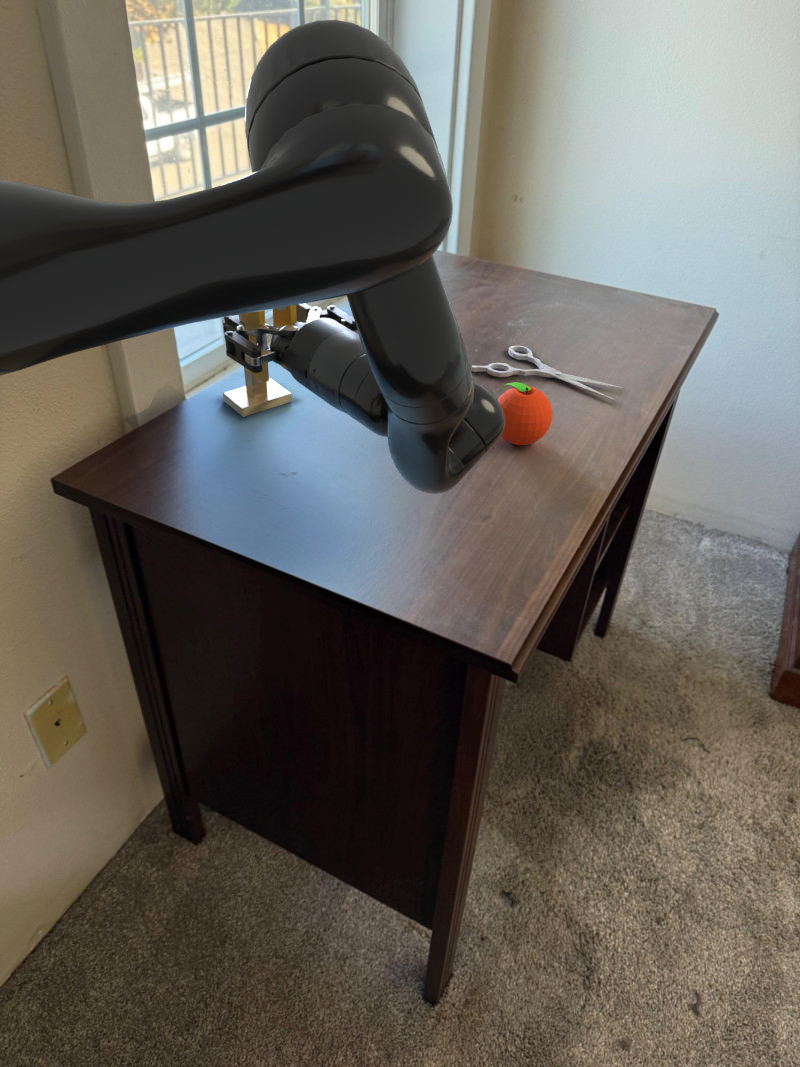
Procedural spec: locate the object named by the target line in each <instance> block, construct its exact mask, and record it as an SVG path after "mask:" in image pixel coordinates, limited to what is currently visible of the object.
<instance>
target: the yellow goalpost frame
mask: <svg viewBox="0 0 800 1067" xmlns="http://www.w3.org/2000/svg"><path fill="white" fill-rule="evenodd" d="M242 322H243V323H244V324H246V326H252V327H258V326H259V325H261V324H266V310H263V311H257V312H252V313H246V314H242ZM294 323H298V322H297V316H296V305H292V306H287V307H286V309H285V310H283V311H278V310H276V309H272V325H275V326H285V325H292V324H294ZM249 341H250V342H252V343H256V337H255V336H252V335H249ZM278 365H279V366H280V367H281V368H283V369H284V370H285V371H287V372H289V370H288V369H287V367H286V366H284V365H281V364H278ZM262 368H263V371H262V372H260V373H253V372H251V371H250V370H248V369H247V368H246V370H247V371H248V372H250V373H251V374H252V375H254V376H255V377H256V378H258V379H259V380H260V381H262V382H263V383H265V382H268V381H269V379H270V374H269V372H270V371H269V362H268V363H265V364H262Z"/></svg>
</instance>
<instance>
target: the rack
mask: <svg viewBox="0 0 800 1067" xmlns="http://www.w3.org/2000/svg"><path fill="white" fill-rule="evenodd" d="M286 307H287V306H286ZM286 307H281V308H275V309H276V310H278V311H283V310H285V309H286ZM238 320H240V321H241V322H242V314H240V315H238ZM243 371H244V383H245V385H243V386H240V387H237V388H233V389H231V390H227V391H224V392H222V397H223V402H224V403H226V404H227V405H228V406H229V407H230V408H232V409H233V410H234V411H235V412H237V413H238V414H239V415H240V416H241V417H242V418H245V417H248V416H251V415H255V414H257V413H261V412H263V411H264V412H265V411H266V410H267V411H268V410H269V409H272V408H276V407H279V406H282V405H285V404H289V403H291V402H292V399H293V398H292V392H290V391H289V390H287V389H286V388H285V387H283V386H282V385H280V384H279V383H278V382H277V381H275V380H274V379H273V378H269V381H268V382H265V383H263V382H262V381H260V380H259V379H258V378H256V377H255V376H254V375H252V374H251V373H250V372H248V371H247V370H246V368H245V367H244V366H243Z"/></svg>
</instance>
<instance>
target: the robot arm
mask: <svg viewBox="0 0 800 1067" xmlns="http://www.w3.org/2000/svg"><path fill="white" fill-rule="evenodd" d="M420 93H421V92H420V91H419V88H418V86H417V83H416V81H415V79H414V78H413V76H412V74H411V72H410V71H409V69H408V67H407V66H406V65H405V63H404V61H403V60H402V58H401V56H400V55H399V54H398V53H397V52H396V51H395V50H394V49H393V48H392V47H391V45H389V43H388V42H387V41H385V39H383V38H381V37H380V36H378V35H377V34H376V33H374V32H373V31H372V30H370V29H368V28H366V27H363V26H361V25H359V24H356V23H355V22H351V21H345V20H340V19H320V20H314V21H310V22H307V23H303V24H300V25H297V26H295V27H294V28H291V29H290V30H288V31H286V32H285V33H283V34H282V35H281V36H280V37H279V38H277V39H276V40H275V41H274V42H272V44H270V46H268V48H267V49H266V51H265V52H264V53H263V55H262V56H261V57H260V59H259V60H258V62H257V64H256V66H255V69H254V71H253V73H252V75H251V77H250V81H249V85H248V89H247V93H246V97H245V116H244V131H245V132H244V133H245V138H246V147H247V153H248V158H249V162H250V168H251V173H250V174H247V175H245V176H243V177H240V178H238V179H235V180H231V181H229V182H226V183H222V184H220V185H217V186H214V187H210V188H207V189H203V190H199V191H195V192H192V193H188V194H184V195H179V196H176V197H171V198H167V199H161V200H155V201H149V202H129V203H128V202H113V201H107V200H106V201H105V200H101V199H95V198H89V197H84V196H80V195H76V194H71V193H68V192H65V191H60V190H57V189H51V188H47V187H43V186H38V185H34V184H29V183H24V182H19V181H13V180H8V179H7V180H5V179H0V377H2V376H5V375H8V374H9V375H10V374H12V373H15V372H19V371H23V370H26V369H28V368H29V369H30V368H31V367H34V366H37V365H40V364H43V363H46V362H50V361H53V360H55V359H56V360H57V359H59V358H62V357H65V356H69V355H71V354H75V353H79V352H82V351H87V350H91V349H94V348H98V347H102V346H106V345H109V344H113V343H117V342H121V341H126V340H129V339H133V338H138V337H141V336H145V335H150V334H154V333H157V332H161V331H166V330H169V329H174V328H178V327H182V326H186V325H190V324H195V323H200V322H207V321H211V320H217V319H222V318H223V320H222V329H223V337H224V340H225V341H224V342H225V355H226V356H227V357H228V358H229V359H230V360H233V361H234V362H236V363H237V364H239V365H241V366H242V367H243V368H244V367H245V368H247V369H248V370H250V371H251V372H253V373H260V372H262V371H263V368H262V364H265V363H268V364H269V363H271V362H273V363H275V364H277V365H279V364H281V365H284V366H286V367H287V369H288V370H289V371H288V372H289V373H290V375H291V376H292V378H293V379H294V380H295V381H296V382H297V383H299V384H300V385H301V386H303V387H304V388H306V389H307V390H308V391H309V392H311V393H312V394H314V395H316V396H317V397H318V398H320V399H321V400H322V401H324V402H325V403H327V404H328V405H329V406H331V407H332V408H334V409H336V410H337V411H340V412H342V413H345V414H346V415H348V416H349V417H351V418H352V419H353V420H355V421H356V422H357V423H359V424H360V425H362V426H363V427H365V428H366V429H368V430H369V431H371V432H372V433H374V434H376V435H378V436H380V437H384V438H387V445H388V450H389V454H390V457H391V459H392V462H393V464H394V467H395V468H396V470H397V472H398V473H399V474H400V476H401V478H403V480H404V481H405V482H406V483H407V484H409V485H410V486H411V487H413V488H414V489H415V490H418V491H419V492H422V493H424V494H428V495H429V494H430V495H438V494H444V493H446V492H449V491H450V490H452V489H453V488H454V487H456V486H457V485H458V484H459V483H460V482H461V481H462V480H463V479H464V477H466V475H467V474H468V473H469V472H470V471H471V470H472V469H473V468H474V467H475V466H476V465H477V464H478V462H479V461H481V459H482V458H484V457H485V455H486V454H487V453H488V452H489V450H491V449H492V447H494V446H495V444H496V443H497V442H498V441H499V440H500V438H502V437H501V435H502V433H503V431H504V428H505V417H504V412H503V409H502V407H501V405H500V403H499V402H498V399H497V398H496V396H495V395H494V394H493V393H492V392H491V391H490V390H489V389H487V388H486V387H484V386H482V385H481V384H480V383H478V382H476V381H474V377H473V371H472V367H471V365H470V361H469V357H468V354H467V351H466V350H467V349H466V346H465V342H464V339H463V336H462V333H461V329H460V327H459V324H458V321H457V318H456V316H455V313H454V310H453V308H452V304H451V302H450V300H449V296H448V294H447V291H446V288H445V284H444V282H443V280H442V279H443V278H442V277H441V274H440V272H439V271H440V270H439V268H438V265H437V262H436V259H435V256H434V254H435V253H436V252H437V251H438V249H439V248H440V246H441V245H442V243H443V242H444V240H445V239H446V237H447V235H448V233H449V229H450V227H451V224H452V220H453V214H454V213H453V212H454V201H453V197H452V190H451V187H450V183H449V180H448V175H447V172H446V168H445V166H444V162H443V159H442V156H441V153H440V151H439V147H438V144H437V140H436V138H435V135H434V132H433V129H432V126H431V122H430V120H429V117H428V113H427V111H426V107H425V105H424V101H423V99H422V96H421V94H420ZM345 296H346V298H347V301H348V302H347V303H348V305H349V308H350V311H351V314H352V315H350V314H349V313H347V311H344V310H343V309H341V308H340V307H338V306H336V305H328V306H327V307H326V309H323V310H322V308H321V307H319V306H311V305H309V303H314V302H320V301H325V300H330V299H331V300H332V299H336V298H340V297H345ZM292 305H296V316H297V323H294V324H292V325H285V326H275V325H273V324H268V323H265V324H261V325H259V326H258V327H252V326H246V324H244V323H243V322H241V321H240V320H239V318H237V317H235V316H239V315H240V314H246V313H252V312H257V311H263V310H265V311H269V310H273V309H275V308H281V307H286V306H292ZM249 335H252V336H255V337H256V343H252V342H250V341H249ZM268 335H271V339H270V344H269V345H268ZM268 346H269V347H268Z"/></svg>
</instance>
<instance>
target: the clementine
mask: <svg viewBox="0 0 800 1067" xmlns="http://www.w3.org/2000/svg"><path fill="white" fill-rule="evenodd" d="M508 385H509V386H511V388H508V389H507V390H506V391H505V392H503V393H502V394H501V395H500V396H499V398H498V399H497V400H498V402H499V403H500V405H501V407H502V409H503V412H504V417H505V428H504V431H503V433H502V435H501V437H500V438H502V439H503V440H505V441H506V442H508V443H510V444H512V445H516V446H527V445H531V444H534V443H536V442H538V441H540V440H541V439H542V438H543V437H544V436H546V434H547V433H548V431H549V430H550V427H551V424H552V421H553V409H552V404H551V402H550V400H549V398H548V397H547V396H546V394H544V393H543V392H542V391H541V390H539V389H538V388H536V387H534V386H530V385H527V384H525V383H522V382H517V381H515V382H508V383H505V384H503V385H502V386H501V387H500V390H499V392H501V391H502V389H504V387H505V386H508Z"/></svg>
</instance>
